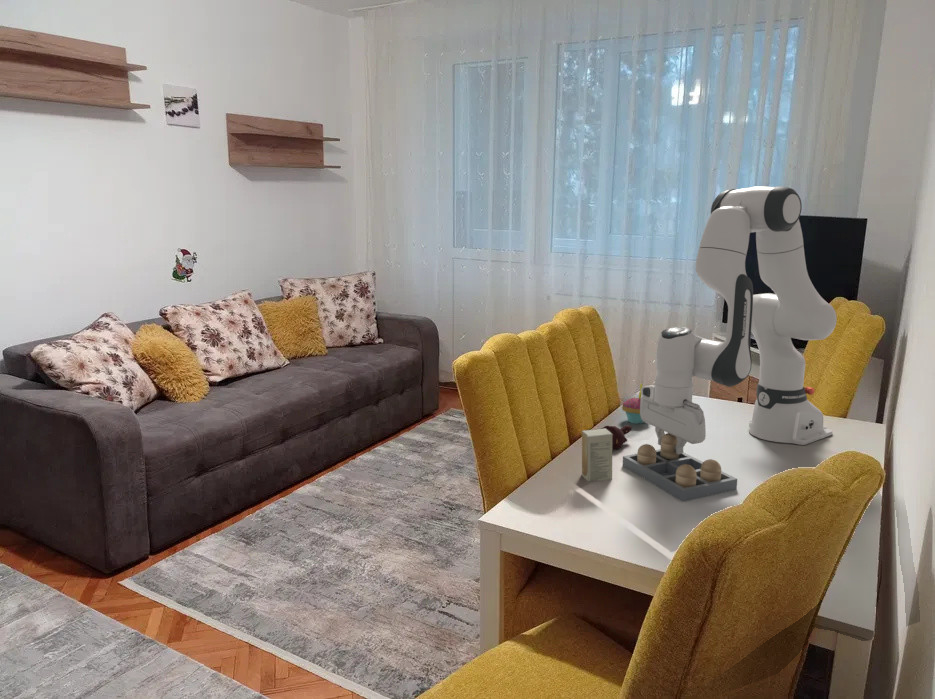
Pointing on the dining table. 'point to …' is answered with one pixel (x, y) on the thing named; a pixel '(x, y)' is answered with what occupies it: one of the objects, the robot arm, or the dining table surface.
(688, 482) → the seated egg
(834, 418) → the dining table surface
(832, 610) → the dining table surface
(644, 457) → the seated egg
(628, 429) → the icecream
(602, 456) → the skincare box
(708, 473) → the seated egg
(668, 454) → the wooden egg
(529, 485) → the dining table surface
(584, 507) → the dining table surface
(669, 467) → the egg carton
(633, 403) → the cupcake
